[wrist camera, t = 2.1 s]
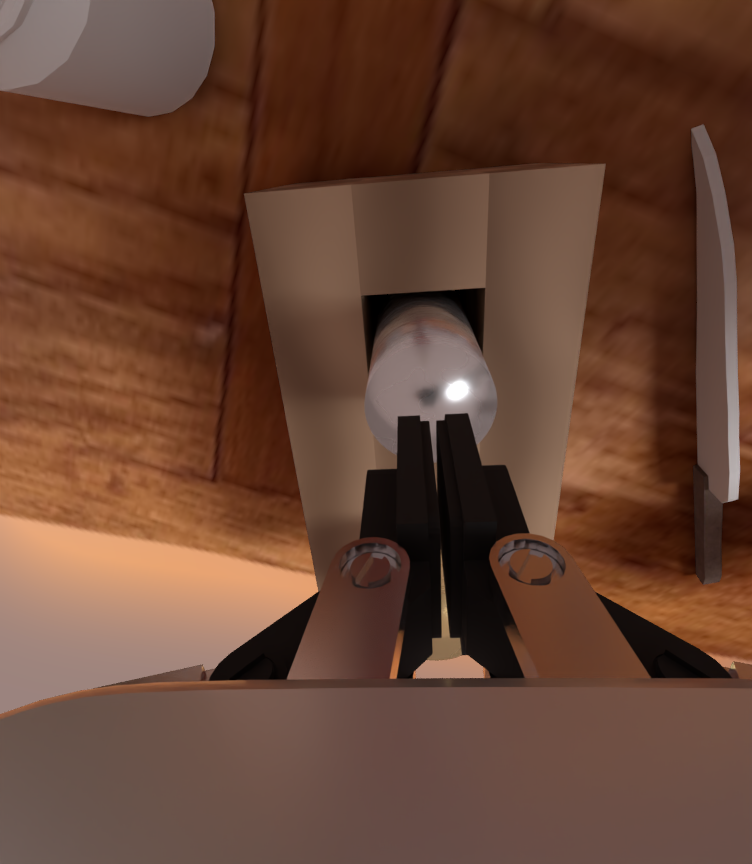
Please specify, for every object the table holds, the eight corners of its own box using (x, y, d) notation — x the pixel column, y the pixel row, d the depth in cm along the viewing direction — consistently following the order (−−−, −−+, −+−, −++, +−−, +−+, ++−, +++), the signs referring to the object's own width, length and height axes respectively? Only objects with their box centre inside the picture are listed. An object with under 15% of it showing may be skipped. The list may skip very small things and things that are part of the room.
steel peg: (466, 276, 21) (500, 340, 13) (464, 363, 23) (494, 460, 15) (374, 282, 21) (358, 347, 14) (380, 367, 23) (369, 465, 16)
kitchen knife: (737, 606, 33) (766, 106, 19) (720, 609, 33) (735, 117, 19) (703, 560, 37) (706, 113, 22) (688, 563, 37) (680, 122, 23)
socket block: (537, 163, 23) (605, 164, 16) (510, 517, 34) (541, 624, 26) (295, 183, 24) (243, 193, 16) (342, 522, 35) (324, 626, 27)
